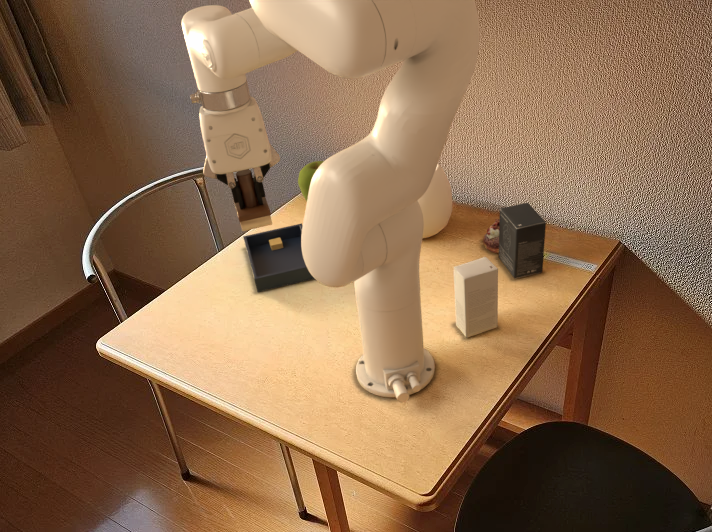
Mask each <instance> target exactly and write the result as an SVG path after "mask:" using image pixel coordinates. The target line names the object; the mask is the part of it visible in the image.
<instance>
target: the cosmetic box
mask: <svg viewBox="0 0 712 532" xmlns="http://www.w3.org/2000/svg"><path fill="white" fill-rule="evenodd" d="M453 287H454V289H453V290H454V311H455V313H454V314H455V315H454V316H455V326H456V327H457V329H459V330H460V332H461V333H462V335H464V337H465V338H466V339H468V338H471V337H473V336H476V335H479V334H482V333H485V332H487V331H490V330H495V329H497V328H498V327H499V325H498V324H499V322H498V321H499V320H498V319H499V318H498V317H499V316H498V315H499V311H498V310H499V308H498V307H499V268H498V267H497V266H496V265H495V264H494V263H493V262H492V261H491V260H490V259H489V258H488V257H486V256H483V257H480V258H476V259H474V260H471V261H468V262H465V263H462V264H459V265H454V266H453Z"/></svg>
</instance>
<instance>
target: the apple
mask: <svg viewBox="0 0 712 532" xmlns="http://www.w3.org/2000/svg"><path fill="white" fill-rule="evenodd" d="M324 161H325V160H315V161H312V162H309V163H307V164H305V165H304V166H303V167H302V168H301V169H300V171H299V173H298V178H297V179H298V180H297V184H298V187H299V189H300V192H301V195H302V197H303V198H304V200H305V202H307V199H308V193H309V188H310V183H311V180H312V177H313V175H314V173H315V172H316V170H317V169H318V167H319V166H320V165H321V164H322V163H323V162H324Z"/></svg>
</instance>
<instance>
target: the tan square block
mask: <svg viewBox="0 0 712 532" xmlns="http://www.w3.org/2000/svg"><path fill="white" fill-rule="evenodd" d="M269 243H270V247H271V249H272V251H273V250H277V249H281V248H283V243H282V241H281V238H280V237H279V238H275V239H271V240H269Z"/></svg>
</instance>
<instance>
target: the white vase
mask: <svg viewBox="0 0 712 532" xmlns="http://www.w3.org/2000/svg"><path fill="white" fill-rule="evenodd" d="M452 192H453V191H452V185H451V183H450V181H449V179H448V176H447V175H446V172H445V170H444V169H443V167H442V166H441V164H440V162H438V164H437V167H436V170H435V172H434V175H433V178H432V180H431V183H430V185H429V187H428V189H427V191H426V192H425V193H424V195H423V196H422V197H421V198H420V199H418V200H417V201H418V202H419V205H420V207H421V210H422V214H423V222H424V227H423V238H422V239H426V238H427V239H428V238H431V237H433V236H435V235H437V234H439V233H440V232H441V231H442V230H444V229H445V228H446V227H447V226H448V223H449V221H450V219H451V215H452V213H453V193H452Z"/></svg>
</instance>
